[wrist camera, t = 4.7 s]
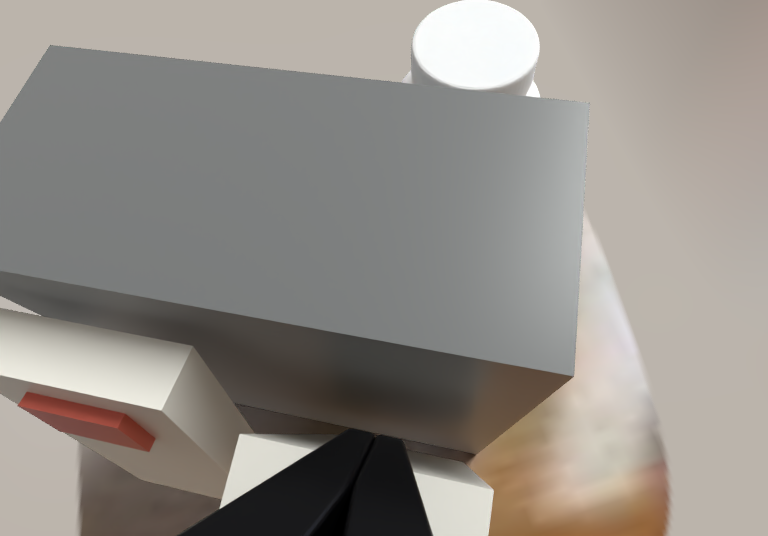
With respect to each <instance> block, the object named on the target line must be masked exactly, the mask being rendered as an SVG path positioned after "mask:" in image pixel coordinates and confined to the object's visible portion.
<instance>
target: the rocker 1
mask: <svg viewBox="0 0 768 536" xmlns="http://www.w3.org/2000/svg"><path fill="white" fill-rule="evenodd" d="M0 394H2V395H3V396H5V397H7V398H8V399H10V400H11V401H13V402H15V403H17V404H18V406H19V407H21V408H22V409H24V410H26V411H27V412H29V413H31V414H32V415H34V416H35V417H37V418H39V419H40V420H42V421H44V422H45V423H47V424H49V425H50V426H52V427H53V428H55V429H57V430H58V431H61V432H64V433H65V434H67V435H69V436H70V437H72V438H74V439H75V440H77V441H78V442H80V443H82V444H83V445H85V446H87V447H88V448H90V449H92V450H93V451H95V452H96V453H98V454H100V455H101V456H103V457H105V458H106V459H108V460H110V461H111V462H113V463H114V464H116V465H118V466H119V467H121V468H123V469H124V470H126V471H127V472H129V473H131V474H132V475H134V476H136V477H137V478H139V479H141V480H143V481H147V482H152V483H156V484H160V485H164V486H168V487H172V488H176V489H180V490H184V491H189V492H193V493H197V494H201V495H205V496H209V497H213V498H217V499H222V497H223V494H224V490H225V486H226V482H227V479H228V475H229V471H230V468H231V464H232V460H233V457H234V453H235V449H236V445H237V442H238V438H239V434H255V433H254V431H253V430H252V429H251V427H250V426H249V424H248V423H247V422H246V420H245V419H244V417H243V416H242V414H241V413H240V412H239V410H238V409H237V407H236V406H235V405H234V403H233V402H232V400H231V399H230V397H229V396H228V395H227V393H226V392H225V390H224V389H223V388H222V386H221V385H220V383H219V382H218V380H217V379H216V378H215V376H214V375H213V373H212V372H211V371H210V369H209V368H208V366H207V365H206V364H205V362H204V361H203V359H202V358H201V356H200V355H199V354H198V352H197V351H196V349H195V348H194V347H193V346H191V345H186V344H181V343H175V342H170V341H165V340H160V339H155V338H150V337H145V336H140V335H135V334H130V333H125V332H120V331H114V330H109V329H104V328H99V327H94V326H89V325H84V324H79V323H74V322H69V321H64V320H59V319H53V318H48V317H43V316H38V315H33V314H28V313H23V312H18V311H13V310H8V309H2V308H0Z"/></svg>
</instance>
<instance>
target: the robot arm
mask: <svg viewBox="0 0 768 536" xmlns="http://www.w3.org/2000/svg"><path fill="white" fill-rule="evenodd" d="M177 536H433V533H432V530H431V526H430V523H429V520H428V517H427V514H426V511H425V507H424V504H423V501H422V498H421V495H420V492H419V488H418V485H417V482H416V479H415V476H414V472H413V469H412V466H411V463H410V460H409V457H408V453H407V450H406V447H405V444H404V442H403V441H402V440H401V439H398V438H393V437H389V436H384V435H378V436H377V437H376V438H375V436H374V434H373V433H370V432H366V431H361V430H357V429H348V430H346V431H344V432H343V433H341V434H339V435H338V436H336V437H335V438H333V439H331V440H330V441H328V442H327V443H325V444H323V445H322V446H320V447H318V448H317V449H315V450H314V451H312V452H310V453H309V454H307V455H306V456H304V457H302V458H301V459H299V460H298V461H296V462H294V463H293V464H291V465H290V466H288V467H286V468H285V469H283V470H281V471H280V472H278V473H277V474H275V475H273V476H272V477H270V478H269V479H267V480H265V481H264V482H262V483H261V484H259V485H257V486H256V487H254V488H252V489H251V490H249V491H248V492H246V493H244V494H243V495H241V496H240V497H238V498H236V499H235V500H233V501H232V502H230V503H228V504H227V505H225V506H223V507H222V508H220V509H219V510H217V511H215V512H214V513H212V514H211V515H209V516H207V517H206V518H204V519H203V520H201V521H199V522H198V523H196V524H195V525H193V526H191V527H190V528H188V529H186V530H185V531H183V532H182V533H180V534H178V535H177Z"/></svg>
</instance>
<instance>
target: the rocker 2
mask: <svg viewBox="0 0 768 536" xmlns="http://www.w3.org/2000/svg"><path fill="white" fill-rule="evenodd" d="M336 436H338V435H335V434H239V438H238V442H237V445H236V449H235V453H234V457H233V460H232V464H231V468H230V471H229V475H228V479H227V482H226V486H225V490H224V494H223V497H222V501H221V505H220V508H222V507H223V506H225V505H227V504H228V503H230V502H232V501H233V500H235V499H236V498H238V497H240V496H241V495H243V494H244V493H246V492H248V491H249V490H251V489H252V488H254V487H256V486H257V485H259V484H261V483H262V482H264V481H265V480H267V479H269V478H270V477H272V476H273V475H275V474H277V473H278V472H280V471H281V470H283V469H285V468H286V467H288V466H290V465H291V464H293V463H294V462H296V461H298V460H299V459H301V458H302V457H304V456H306V455H307V454H309V453H310V452H312V451H314V450H315V449H317V448H318V447H320V446H322V445H323V444H325V443H327V442H328V441H330V440H331V439H333V438H335V437H336ZM407 453H408V457H409V460H410V463H411V466H412V469H413V472H414V476H415V479H416V482H417V485H418V488H419V492H420V495H421V498H422V501H423V504H424V507H425V511H426V514H427V517H428V520H429V523H430V526H431V530H432V533H433V536H488V533H489V525H490V517H491V509H492V501H493V493H494V490H493V489H492V488H491V487H490V486H489V485H488V484H487V483H486V482H484V481H483V480H482V479H481V478H480V477H479V476H478V475H477V474H476V473H474V472H473V471H472V470H471V469H470V468H469V467H468V466H467V465H466V464H464V463H463V462H460V461H456V460H451V459H446V458H442V457H437V456H432V455H428V454H423V453H418V452H414V451H409V450H407ZM220 508H219V509H220Z"/></svg>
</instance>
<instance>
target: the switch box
mask: <svg viewBox="0 0 768 536" xmlns="http://www.w3.org/2000/svg"><path fill="white" fill-rule="evenodd" d="M589 106H590V103H586V102H577V101H568V100H559V99H549V98H540V97H530V96H521V95H512V94H502V93H493V92H484V91H474V90H465V89H456V88H446V87H437V86H428V85H418V84H409V83H399V82H390V81H381V80H371V79H361V78H352V77H343V76H334V75H325V74H315V73H306V72H296V71H286V70H277V69H268V68H259V67H250V66H239V65H231V64H222V63H211V62H203V61H194V60H184V59H175V58H165V57H156V56H147V55H137V54H128V53H119V52H108V51H100V50H91V49H81V48H72V47H62V46H53V45H50V46H49V48H48V49H47V51H46V53H45V54H44V55H43V57H42V58H41V60H40V62H39V63H38V65H37V66H36V68H35V69H34V71H33V73H32V74H31V76H30V77H29V79H28V80H27V82H26V83H25V85H24V87H23V88H22V90H21V91H20V93H19V94H18V96H17V97H16V99H15V101H14V102H13V104H12V105H11V107H10V108H9V110H8V111H7V113H6V115H5V116H4V118H3V119H2V121H1V122H0V296H2V297H4V298H6V299H8V300H10V301H12V302H14V303H16V304H19V305H21V306H23V307H25V308H27V309H29V310H31V311H33V312H35V313H37V314H40V315H41V316H44V317H48V318H53V319H59V320H64V321H69V322H74V323H79V324H84V325H89V326H94V327H99V328H104V329H109V330H114V331H120V332H125V333H130V334H135V335H140V336H145V337H150V338H155V339H160V340H165V341H170V342H175V343H181V344H186V345H191V346H193V347H194V348H195V349H196V351H197V352H198V354H199V355H200V356H201V358H202V359H203V361H204V362H205V364H206V365H207V366H208V368H209V369H210V371H211V372H212V373H213V375H214V376H215V378H216V379H217V380H218V382H219V383H220V385H221V386H222V388H223V389H224V390H225V392H226V393H227V395H228V396H229V397H230V399H231V400H232V402H233V403H236V404H241V405H246V406H250V407H255V408H260V409H264V410H269V411H274V412H279V413H283V414H288V415H293V416H298V417H302V418H307V419H312V420H316V421H321V422H326V423H331V424H335V425H340V426H345V427H349V428H354V429H359V430H364V431H368V432H373V433H378V434H382V435H387V436H392V437H397V438H401V439H406V440H411V441H415V442H420V443H425V444H430V445H434V446H439V447H444V448H448V449H453V450H458V451H463V452H467V453H472V454H478V453H479V452H480V451H481V450H483V449H484V448H485V447H486V446H488V445H489V444H490V443H491V442H493V441H494V440H495V439H496V438H498V437H499V436H500V435H501V434H503V433H504V432H505V431H506V430H508V429H509V428H510V427H511V426H513V425H514V424H515V423H516V422H518V421H519V420H520V419H521V418H523V417H524V416H525V415H526V414H528V413H529V412H530V411H531V410H533V409H534V408H535V407H536V406H538V405H539V404H540V403H541V402H543V401H544V400H545V399H546V398H548V397H549V396H550V395H551V394H553V393H554V392H555V391H556V390H558V389H559V388H560V387H561V386H563V385H564V384H565V383H566V382H568V381H569V380H570V379H571V378H573V377H574V368H575V351H576V334H577V316H578V299H579V281H580V264H581V246H582V229H583V212H584V194H585V177H586V159H587V158H586V157H587V142H588V124H589Z"/></svg>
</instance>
